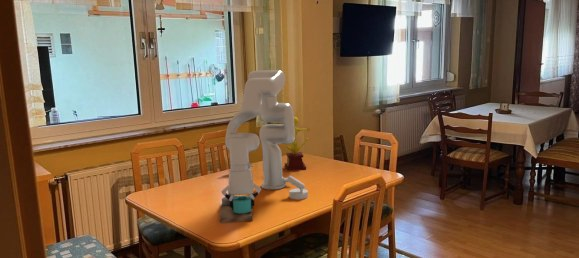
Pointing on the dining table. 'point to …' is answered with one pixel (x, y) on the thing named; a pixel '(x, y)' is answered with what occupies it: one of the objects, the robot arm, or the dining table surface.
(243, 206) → the collar
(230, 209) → the board
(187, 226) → the dining table surface
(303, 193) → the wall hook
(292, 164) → the potted plant
